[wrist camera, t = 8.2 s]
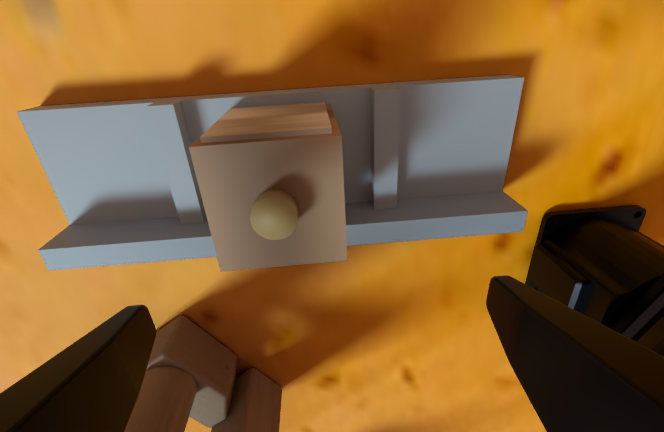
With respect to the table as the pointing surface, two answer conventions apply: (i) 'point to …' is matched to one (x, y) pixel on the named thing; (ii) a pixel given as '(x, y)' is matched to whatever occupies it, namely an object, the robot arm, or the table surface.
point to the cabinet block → (273, 186)
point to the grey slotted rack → (204, 110)
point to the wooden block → (201, 386)
